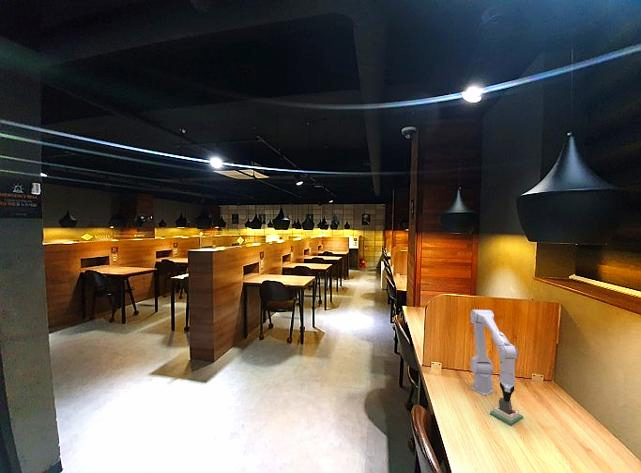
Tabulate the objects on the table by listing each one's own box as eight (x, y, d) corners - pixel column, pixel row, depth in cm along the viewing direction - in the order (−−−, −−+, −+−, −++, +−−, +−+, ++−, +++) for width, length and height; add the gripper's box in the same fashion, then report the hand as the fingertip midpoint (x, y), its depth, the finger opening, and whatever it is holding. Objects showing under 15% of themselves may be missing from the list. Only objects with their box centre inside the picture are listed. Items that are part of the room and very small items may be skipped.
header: (502, 407, 133) (502, 403, 133) (518, 416, 127) (519, 411, 127) (494, 412, 130) (494, 407, 130) (510, 421, 124) (510, 416, 124)
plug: (503, 410, 131) (500, 397, 132) (516, 414, 127) (514, 400, 128) (500, 414, 128) (498, 400, 129) (514, 417, 124) (512, 403, 125)
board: (502, 407, 135) (502, 405, 135) (523, 418, 127) (523, 416, 127) (489, 414, 130) (489, 412, 130) (510, 426, 122) (510, 423, 122)
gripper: (497, 363, 137) (496, 390, 137) (496, 375, 125) (496, 405, 125) (514, 367, 133) (514, 395, 133) (516, 379, 121) (515, 410, 121)
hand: (506, 400), depth 128 cm, fingers closed, pressing on plug
